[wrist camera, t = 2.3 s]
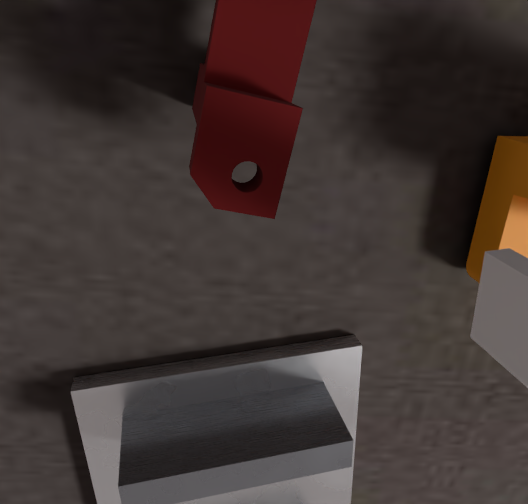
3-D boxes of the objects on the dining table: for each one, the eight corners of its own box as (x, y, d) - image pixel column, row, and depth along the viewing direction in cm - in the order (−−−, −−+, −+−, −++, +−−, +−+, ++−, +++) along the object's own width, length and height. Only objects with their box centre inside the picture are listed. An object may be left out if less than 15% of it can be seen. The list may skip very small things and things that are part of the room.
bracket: (185, 203, 14) (260, -208, 11) (182, 162, 20) (233, -127, 16) (274, 218, 15) (372, -164, 12) (249, 175, 20) (311, -100, 17)
